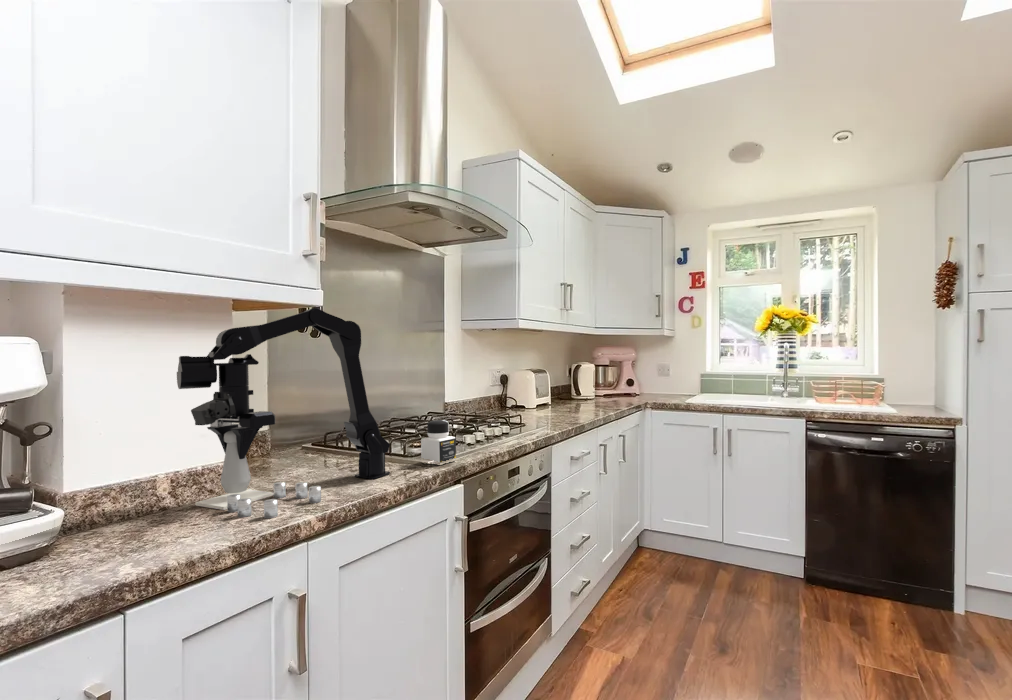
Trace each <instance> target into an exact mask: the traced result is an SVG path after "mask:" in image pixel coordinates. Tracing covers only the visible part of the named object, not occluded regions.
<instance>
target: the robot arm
mask: <svg viewBox="0 0 1012 700" xmlns="http://www.w3.org/2000/svg"><path fill="white" fill-rule="evenodd" d="M308 327H312V328H313V329H315V330H317V332H319V333H321V334H322V335H325V336H326V337H328V338H329V341H330V344H331V346H332V349H333V350H334V352H335V353H336V354H337V356H338V358H339V361H340V367H341V371H342V376H343V381H344V385H345V390H346V396H347V397H346V398H347V401H348V407H349V411H350V413H349V414H350V415H349V419H348V420H347V421H343V426H344V428H345V431H346V433H345V437H346V438H348V440H349V441H350V443H352V444H353V445H354V446H355V450H356V452H359V455H358V473H356V474H354V477H355V478H361V479H371V480H372V479H374V480H375V479H378V478H381V477H383V476H384V477H385V476H387V475H390V474H391V472H390V471H387V470H386V453H388V452H389V449H390V446H391V444H390V442H389V441H387V440H386V439H385V438H384V437H383V436H382V435H381V430H380V428H379V426H378V423H377V421H376V419H375V417H374V415H373V413H371V411H370V408H369V401H368V397H367V392H366V387H365V386H366V385H365V381H364V376H363V371H362V370H363V369H362V365H361V360H360V353H361V352H360V351H361V349H362V348H361V346H362V330H361V327H360V325H359V324H357V323H356V322H355V321H352V320H345V319H342V318H341V317H338V316H336V315H333V314H330V313H328V312H325V310H322V309H320V308H318V307H314V308H310V309H306V310H305V311H303V312H298V313H296V314H293V315H290V316H285V317H282V318H280V319H276V320H272V321H269V322H266V323H262V324H257V325H249V326H248V325H247V326H238V327H233V328H229V329H225V330H222V331H220V333H218V334H217V337H216V339H215V346H214V347H212V349H211V351H209V352H208V354H207V355H206V356H191V355H190V356H189V355H180V356H179V357H178V367H177V371H176V384H177V388H178V390H187V389H208V388H211V387H212V384H214V383H217V382H218V391H214V393H213V395H212V397H213V398H212V399H211V400H210V401H209V400H208V401H207V402H203V403H202V404H201V405H197V406H195V407H193V408H192V409H191V410H190V412H191V415H192V418H193V420H194V426H207V427H206V428H207V429H208V431H209V430H210V431H211V432H213V433H215V434H216V436H217V438H218V439H219V442H220V444H221V446H222V450H223V452H224V454H225V453H226V448H227V443H226V442H224V434H225V433H226V432H228V431H232V432H233V433H234V434H235V435H236V440H237V450H238V455H239V459H244V458H245V456H246V457H247V454H248V451H249V450H250V448H251V446H252V443H253V442H254V439H256V436H257V435H258V432H259V431H260V429H262V428H263V427H265V426H272V425H275V424H276V415H275V414H274V413H273V411H264V410H261V411H254V410H255V409H254V408H250V396H253V395H254V389H250V386H249V385H250V381H249V366H250V365H254V366H255V365H259V361H258V360H257V359H256V358H254V357H253V356H252V354H251V353H250V354H246V355H245V356H244V357H231V356H237V355H242V354H244V353H246V352H248V351H250V350H252V349H255V347H257V346H259V345H261V344H263V343H265V342H266V341H268V340H271V339H275V338H277V337H281V336H283V335H286V334H287V335H288V334H290V333H293V332H296V331H299V330H302V329H306V328H308ZM229 357H230V358H229ZM227 358H229V360H228V362H219V363H218V362H217V363H215V361H220V360H226V359H227ZM217 366H218V367H217ZM217 380H218V381H217ZM208 425H209V426H208Z"/></svg>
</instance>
